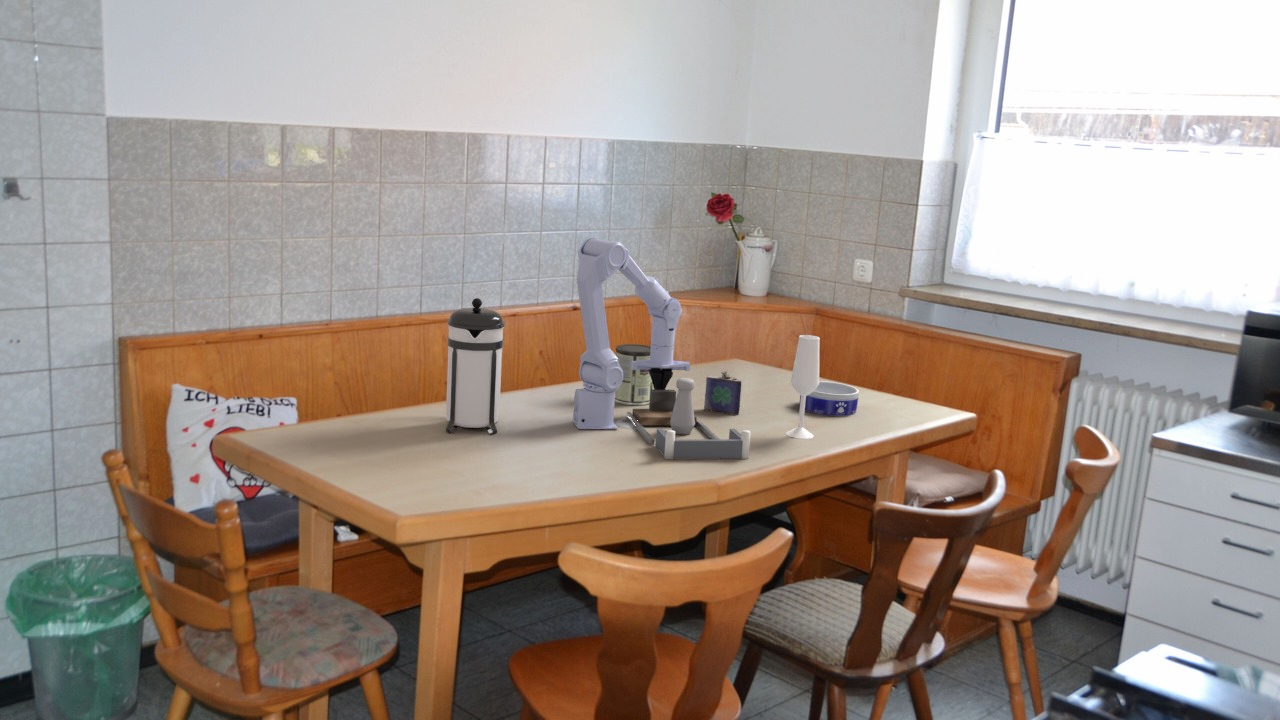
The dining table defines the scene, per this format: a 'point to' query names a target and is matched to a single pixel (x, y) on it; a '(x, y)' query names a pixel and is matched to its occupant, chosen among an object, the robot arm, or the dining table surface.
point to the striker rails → (651, 440)
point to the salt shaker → (683, 408)
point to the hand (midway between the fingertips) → (658, 398)
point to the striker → (658, 408)
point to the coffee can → (633, 375)
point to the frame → (703, 446)
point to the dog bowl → (832, 399)
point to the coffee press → (474, 368)
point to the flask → (723, 394)
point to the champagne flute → (805, 377)
